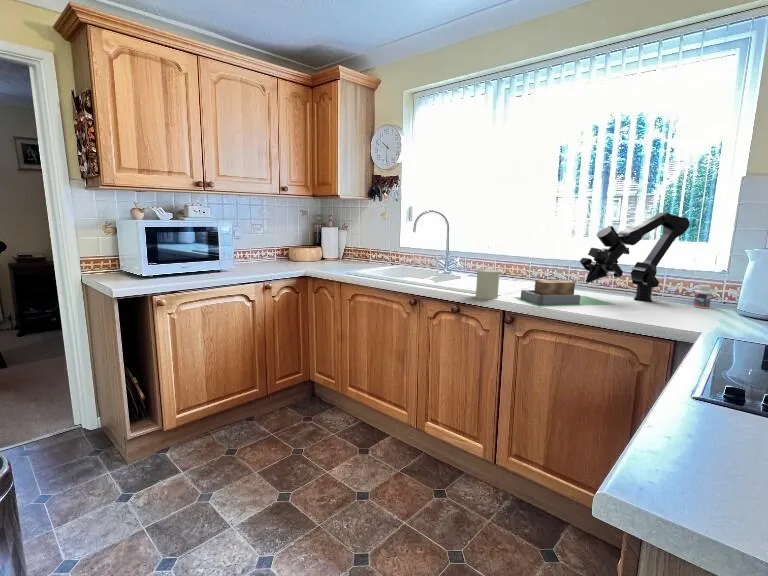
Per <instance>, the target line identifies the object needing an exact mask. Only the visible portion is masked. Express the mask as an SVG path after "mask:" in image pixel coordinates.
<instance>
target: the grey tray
mask: <svg viewBox="0 0 768 576" xmlns="http://www.w3.org/2000/svg"><path fill="white" fill-rule="evenodd" d="M534 290H535V289H522V290H521V291H520V297H521V299H523V300H526V301H529V302H532V303H535V304H538V305H561V304H580V296H581V294H574V295H538V294H535V293H534Z"/></svg>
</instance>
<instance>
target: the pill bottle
mask: <svg viewBox="0 0 768 576" xmlns="http://www.w3.org/2000/svg"><path fill="white" fill-rule="evenodd" d="M711 288H712V285H708V284H698V285H697V289H696V290H695V291H694V298H693V304H692V306H693V307H694V308H697V307H698V309H709V308H710V306H711V301H712V292H711Z"/></svg>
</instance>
